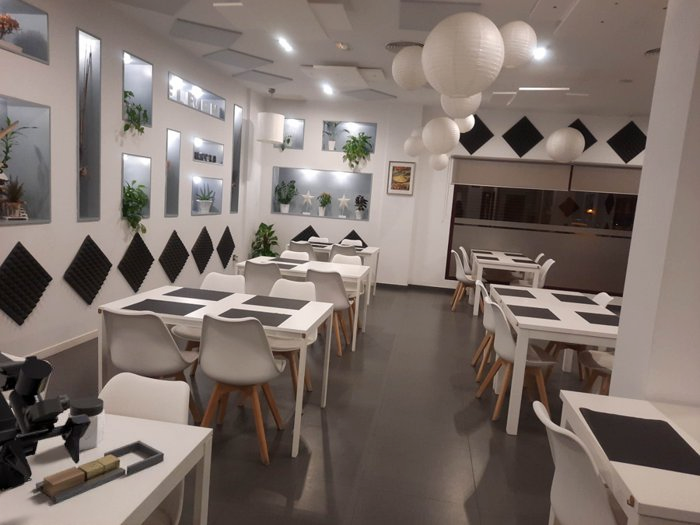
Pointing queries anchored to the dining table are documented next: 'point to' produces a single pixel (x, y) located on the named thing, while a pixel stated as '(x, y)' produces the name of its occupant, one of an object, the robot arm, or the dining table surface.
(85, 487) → the rail bed
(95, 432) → the jar
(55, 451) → the dining table surface
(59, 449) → the dining table surface
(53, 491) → the tan wooden brick
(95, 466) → the olive wooden block
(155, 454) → the tray
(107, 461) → the tan wooden block
